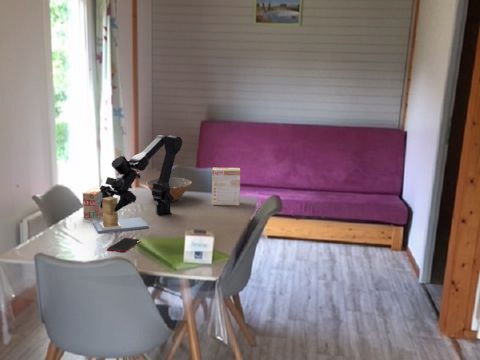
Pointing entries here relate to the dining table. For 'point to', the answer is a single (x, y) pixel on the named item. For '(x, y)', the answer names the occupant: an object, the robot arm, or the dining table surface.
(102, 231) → the board
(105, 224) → the pillar block
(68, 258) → the dining table surface
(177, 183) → the bowl
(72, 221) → the dining table surface
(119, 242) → the cell phone
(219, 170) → the coffeecake box
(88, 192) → the stack of blocks
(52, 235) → the dining table surface
